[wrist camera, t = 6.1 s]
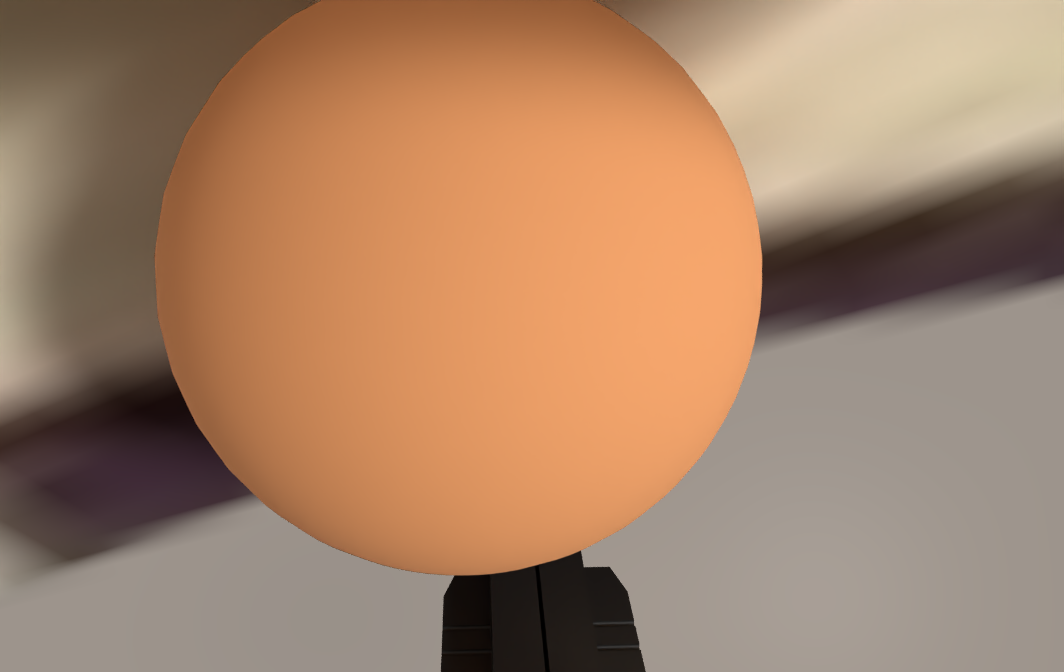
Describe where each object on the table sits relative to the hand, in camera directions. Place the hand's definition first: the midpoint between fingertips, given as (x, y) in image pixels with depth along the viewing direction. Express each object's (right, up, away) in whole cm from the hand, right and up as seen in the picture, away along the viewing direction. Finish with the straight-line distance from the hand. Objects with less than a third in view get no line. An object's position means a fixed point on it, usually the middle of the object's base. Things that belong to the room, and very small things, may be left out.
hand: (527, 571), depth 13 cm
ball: (-1, +5, -5) cm, 7 cm away
